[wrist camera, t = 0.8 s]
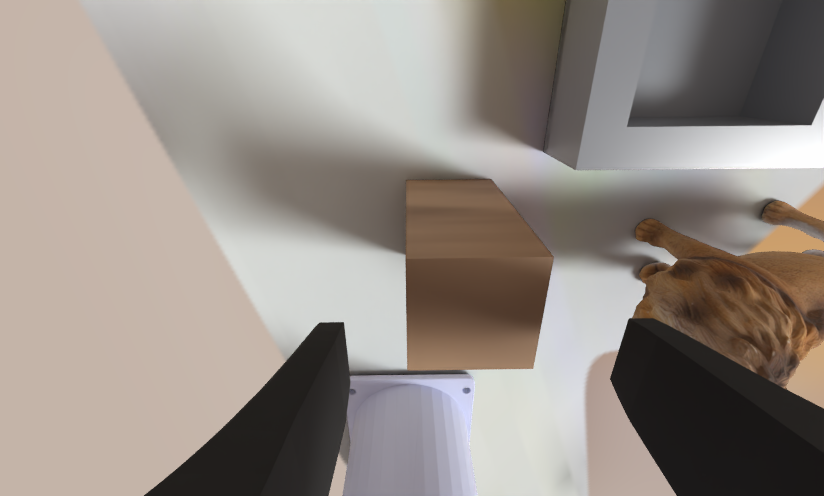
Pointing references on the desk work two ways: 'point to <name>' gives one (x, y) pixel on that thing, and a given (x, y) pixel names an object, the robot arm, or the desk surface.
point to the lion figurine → (740, 295)
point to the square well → (689, 85)
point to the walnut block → (471, 278)
